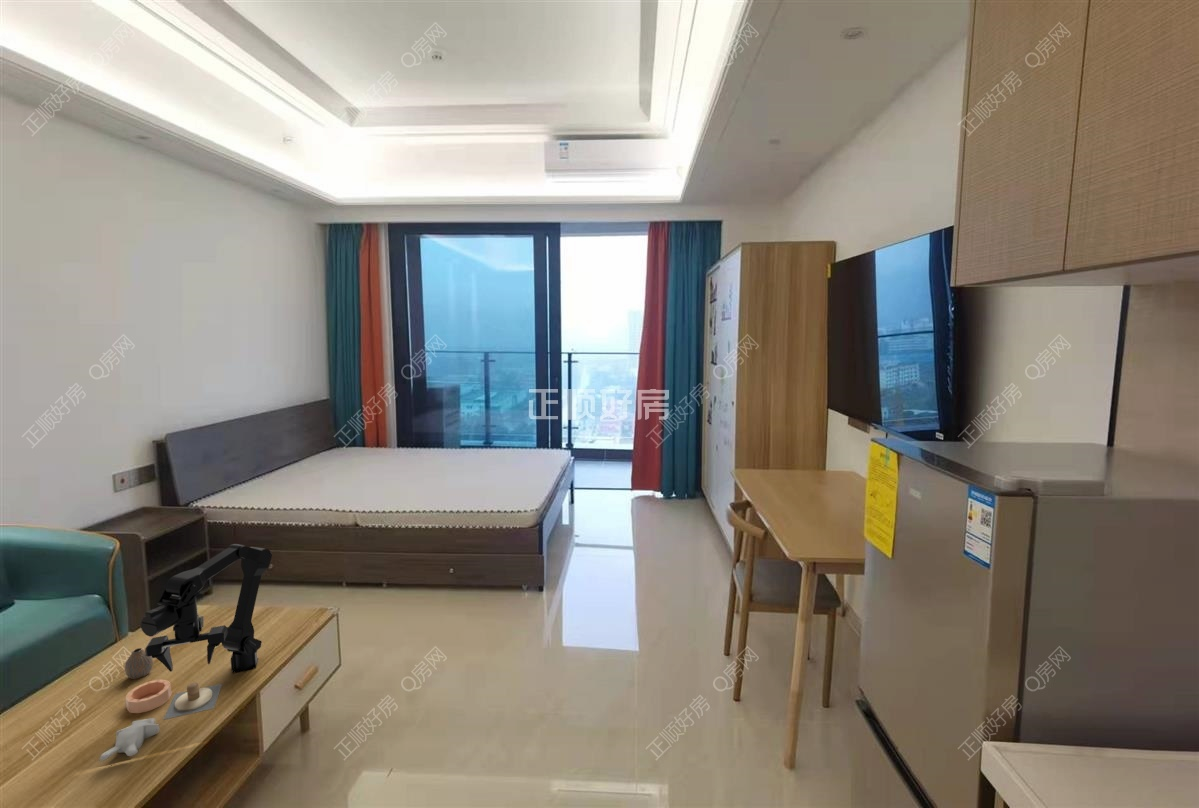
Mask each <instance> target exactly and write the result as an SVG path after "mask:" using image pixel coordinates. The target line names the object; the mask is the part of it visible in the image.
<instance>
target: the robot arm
mask: <svg viewBox="0 0 1199 808" xmlns="http://www.w3.org/2000/svg"><path fill="white" fill-rule="evenodd" d="M272 558H273V553H272V551H271V550H270V549H269V548H263V547H255V546H250V547H249V546H247V545H244V544H238V543H233V544H230V545H228V547H227V548H225V549H224V550H222V551H220V552H219V553H218V554H216V555H214V556H213V557H211V558H210V559H207V560H206V561H205V562H203V563H202V564H199V566H197V567H194V568H192V569H189V570H185V571H184V570H183V571H182V572H179V573H177V574H174V575H173V576H171V577H169V579H168V580H167V583H166V585H165V587H164V589H163V591H162V592H161V595H160V597H159V598H158V601H157V602H156V605H160V606H158V607H156V608H155V607H154V608H153V609H150V610H147V611H145V616H144V617H143V618H142V619H141V622H140V629H141V631H142V633H144V635H146V636H147V637H152V638H151V639H150V640H149V642H148V643H147V645H146V647H145V649H144V651H145V654H146V656H147V657H148V656H151V657H152V659H156V660H158V661H159V662H161V663H162V665H164V666H165V668H166V669H167V670H168V671H169V672H170V673H171V672H173V670H174V665H173V661H172V660H173V659H172V655H171V647H175V646H180V645H185V644H191V643H196V642H197V643H198V642H202V641H207V643H208V644H207V646H206V652H207V653H206V657H207V659H206V661H207V665H210V664H211V662H212V660H213V659H212V658H213V655H214V651H215V649H216V647H219V646H220V644H221V646H222V647H223V648H224V649H226V650H227V652H231V653H232V654H231V655H230V656H231V657H230V667H231V670H232V672H231V673H232V674H237V673H243V672H247V671H252V670H255V669H256V668H257V665H258V662H259V658H258V651H259V649H260V648H261V647H262V643H263V642H262V640H259V639H257V638H255V628H254V625H253V623H252V619H253V614H254V609H255V605H256V602H257V597H258V592H259V588H260V583H261V578H262V577H263V574H264V573H265V572H267V570H268V569H269V566H270V563H271V561H272ZM238 560H240V567H241V570H242V572H243V573H242V574H243V578H242V582H241V585H240V586H241V587H240V591H239V596H238V599H237V604H236V608H235V614H234V617H233V621H232V622H231V623H230V624H229V626H226V625H220V626H213V627H211V628H210V630H209V632H205V633H201V632H202V631H203V628H204V616H203V615H202V616H201V615H200V614H199V613H198V604H197V602H198V601H197V600H198V599H201V598H203V597H204V593H201V592H199V591H201V590H203V588H204V586H205V584H206V583H207V581H208V580H210V579H211V578H213V577H214V576H216V575H217V574H218V573H220V572H221V571H224V569H227V567H229V566H231V565H232V564H233V563H235V562H237V561H238ZM171 597H172V598H171ZM173 597H177V598H173ZM199 615H200V616H199ZM171 627H172V631H173V633H174V638H171V639H169V636H168V635H163V636H162V635H161V636H157V637H156V635H158V634H160V633H162V632H163V631H166V630H167V629H169V628H171ZM154 636H155V637H154ZM231 670H230V671H231Z"/></svg>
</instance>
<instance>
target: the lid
mask: <svg viewBox="0 0 1199 808" xmlns="http://www.w3.org/2000/svg"><path fill="white" fill-rule="evenodd" d="M186 691H187V692H186ZM186 691H185V692H186V693H185V694H183V695H181V696H180V697H179V698H178V699H177V700H176V701H175V709H176V710H178V711H190V710H194V709H197V708H199V707H201V706H203V705H205V704H206V703H208V702H209V701H210V700H211V698H212V696H213V695H212V690H211V689H209V688H205V687H200V685H199V682H198V681H197V682H192V683H190V684H189V683H188V685H187V686H186Z"/></svg>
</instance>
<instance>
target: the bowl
mask: <svg viewBox="0 0 1199 808" xmlns="http://www.w3.org/2000/svg"><path fill="white" fill-rule="evenodd" d="M172 694H173V693H172V686H171V682H170V681H169V680H168V679H155V680H154V679H153V680H151V681H147V682H143V683H142V684H140V685H137V686H135V687H134V688H132V689H131V690H129V692H127V694H126V696H125V705H126V710H127V711H128V712H129V713H132V714H133V713H134V714H141V713H145V712H146V713H147V712H150V711H152V710H154V709H157V708H158V707H161V706H163V705H164V704H165V703H166V702H168V701H169V700H170V698H171V696H172Z"/></svg>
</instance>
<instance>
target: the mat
mask: <svg viewBox="0 0 1199 808" xmlns="http://www.w3.org/2000/svg"><path fill="white" fill-rule="evenodd" d="M222 686H223V683H219V684H213V685H211V686H206V687H204V688H209V689H211V690H212V695H213V696H212V698H211V700H210V701H209V702H208V703H206V704H205V705H203V706H201V707H199V708H197V709H194V710H190V711H178V710H176V709H175V701H176V700H177V699H178V698H179V697H180V696H181V695H183V694H185V693H186V692H187V690H186V691H181V692H178V693H177V692H176V693H175V694H174V695H173V697H172V699H171V702H170V703H169V706H168V708H167V711H166V712H165V715H164V717H163V718H162V719H163V721H165V720H169V719H174V718H177V717H181V716H186V715H190V714H191V715H192V714H196V713H199V712H204V711H208V710H213V709H214V708H215V706H216V703H217V700H218V697H219V694H220V693H221V692H220V691H221V689H222Z"/></svg>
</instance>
